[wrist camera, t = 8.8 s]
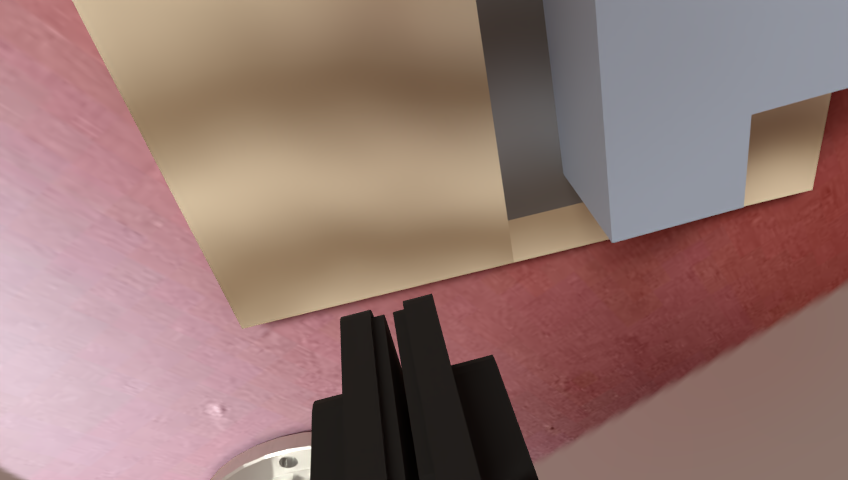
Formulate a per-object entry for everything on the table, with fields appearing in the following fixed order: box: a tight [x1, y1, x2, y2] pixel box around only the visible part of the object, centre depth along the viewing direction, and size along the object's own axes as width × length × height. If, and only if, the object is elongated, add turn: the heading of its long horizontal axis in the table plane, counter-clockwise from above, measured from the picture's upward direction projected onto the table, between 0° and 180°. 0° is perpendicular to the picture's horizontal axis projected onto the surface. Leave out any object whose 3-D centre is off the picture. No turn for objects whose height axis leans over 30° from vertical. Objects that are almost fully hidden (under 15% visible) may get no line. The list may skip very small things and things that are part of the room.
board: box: [72, 0, 831, 329], centre depth 19 cm, size 16×23×1 cm
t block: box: [543, 0, 848, 243], centre depth 17 cm, size 10×10×4 cm
